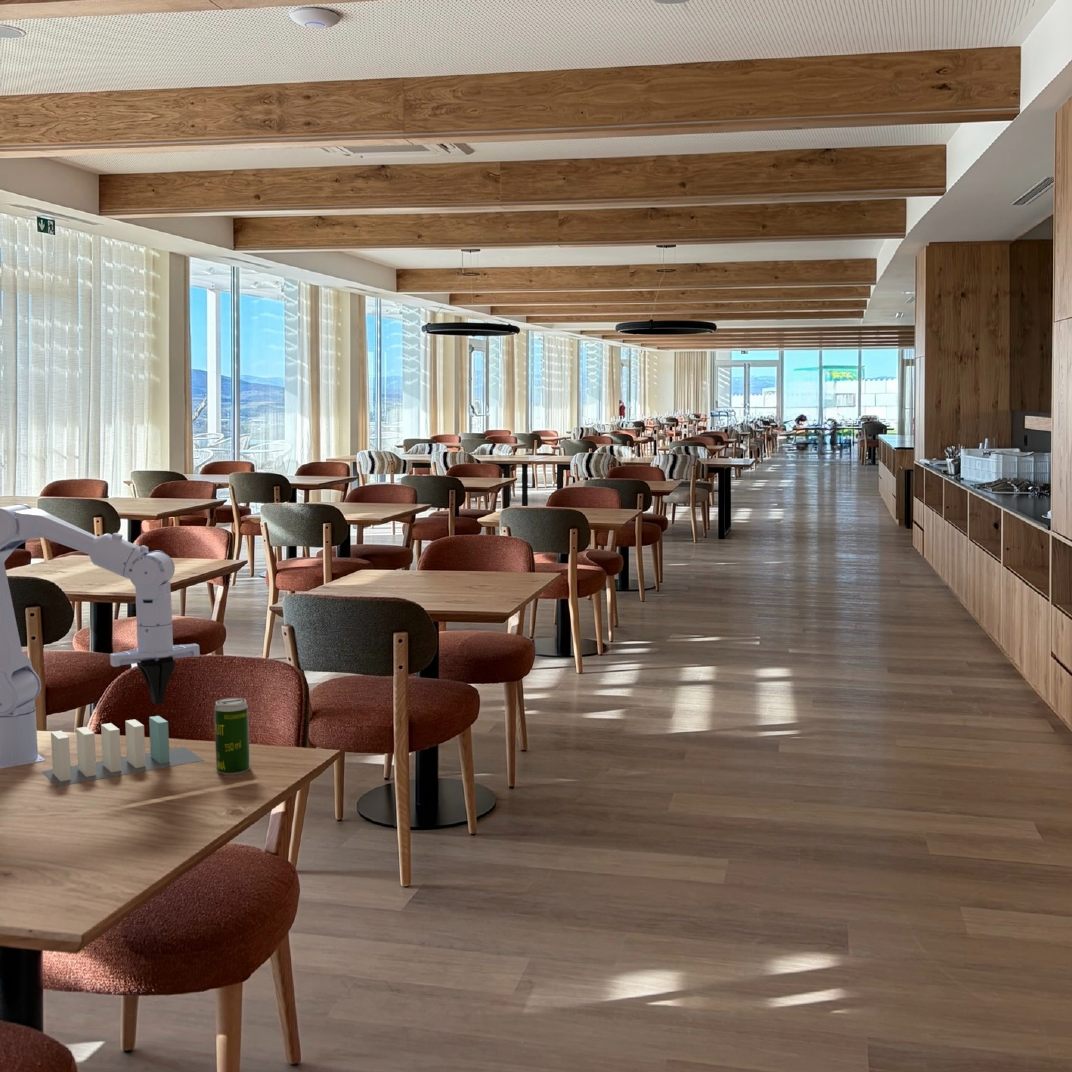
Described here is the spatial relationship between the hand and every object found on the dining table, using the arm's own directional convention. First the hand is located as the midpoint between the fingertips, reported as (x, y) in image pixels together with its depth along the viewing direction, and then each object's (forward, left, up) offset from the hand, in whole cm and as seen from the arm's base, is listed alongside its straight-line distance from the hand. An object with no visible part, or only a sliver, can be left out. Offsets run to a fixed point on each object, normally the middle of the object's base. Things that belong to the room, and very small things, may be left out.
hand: (157, 702), depth 199 cm
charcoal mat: (0, -6, -10) cm, 12 cm away
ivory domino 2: (0, -12, -10) cm, 16 cm away
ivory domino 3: (0, -8, -10) cm, 13 cm away
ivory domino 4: (0, -4, -10) cm, 11 cm away
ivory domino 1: (0, -16, -10) cm, 19 cm away
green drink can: (+13, +8, -11) cm, 19 cm away
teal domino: (0, 0, -10) cm, 10 cm away
